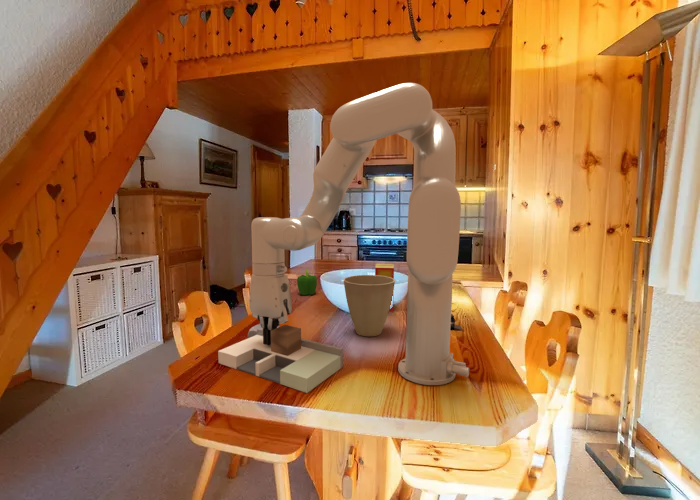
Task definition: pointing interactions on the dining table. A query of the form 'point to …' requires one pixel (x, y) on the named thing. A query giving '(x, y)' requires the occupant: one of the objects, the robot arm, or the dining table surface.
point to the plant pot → (369, 302)
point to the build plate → (455, 327)
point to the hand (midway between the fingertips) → (270, 342)
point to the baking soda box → (385, 272)
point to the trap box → (284, 362)
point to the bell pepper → (307, 284)
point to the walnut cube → (285, 340)
